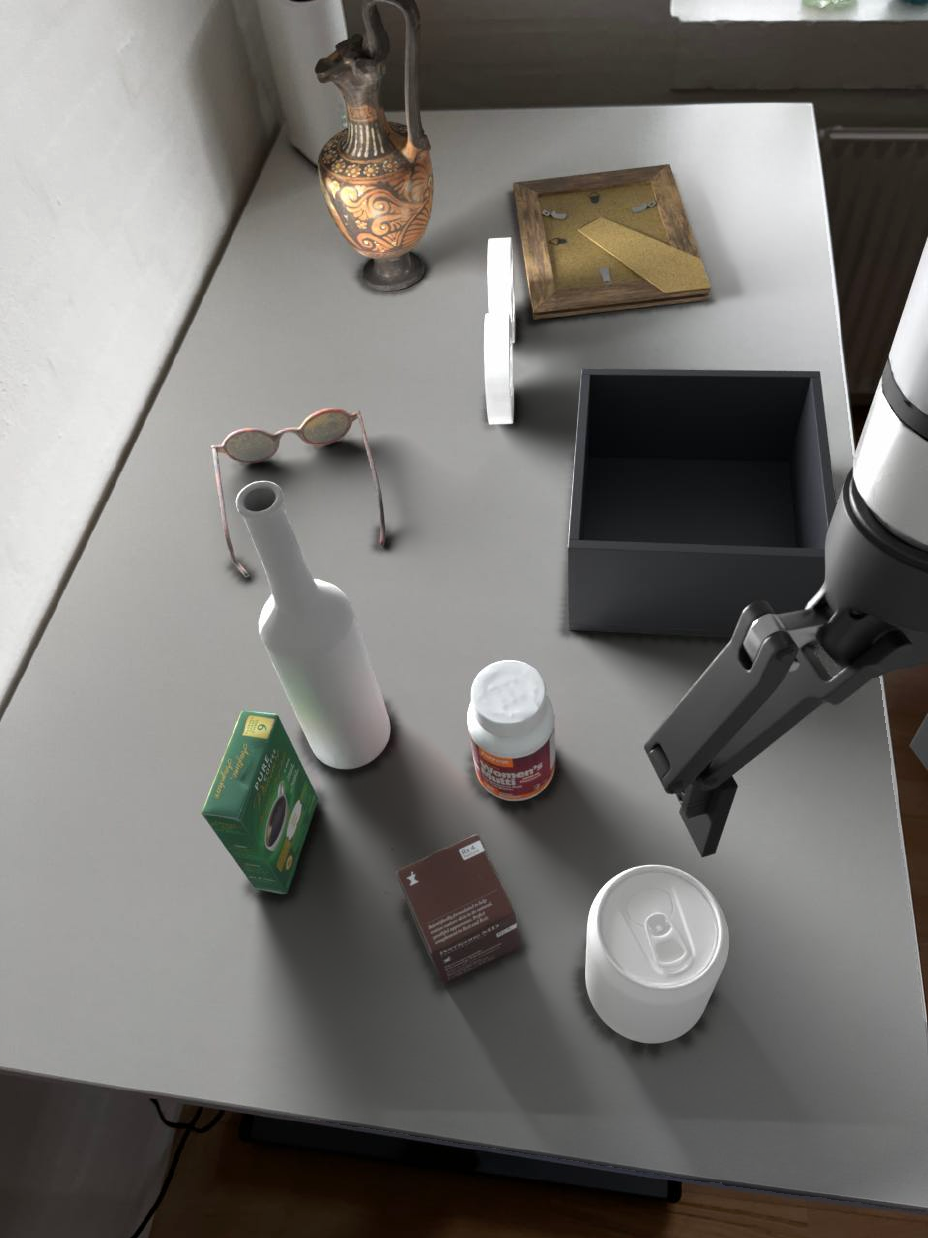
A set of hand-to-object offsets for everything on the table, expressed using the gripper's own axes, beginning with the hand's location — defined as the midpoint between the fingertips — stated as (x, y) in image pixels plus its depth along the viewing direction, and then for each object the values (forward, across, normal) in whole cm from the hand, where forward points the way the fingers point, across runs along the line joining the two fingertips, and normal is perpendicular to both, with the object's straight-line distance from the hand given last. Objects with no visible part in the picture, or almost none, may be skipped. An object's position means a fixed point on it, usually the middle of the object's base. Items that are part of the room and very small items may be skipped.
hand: (815, 798), depth 52 cm
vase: (+13, +4, -80) cm, 81 cm away
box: (+20, +18, -7) cm, 28 cm away
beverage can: (+20, +7, 0) cm, 21 cm away
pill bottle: (+19, +10, -18) cm, 28 cm away
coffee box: (+20, +28, -18) cm, 39 cm away
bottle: (+19, +22, -25) cm, 38 cm away
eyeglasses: (+17, +21, -50) cm, 57 cm away
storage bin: (+16, -10, -33) cm, 38 cm away
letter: (+14, -2, -61) cm, 62 cm away
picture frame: (+11, -19, -76) cm, 79 cm away
